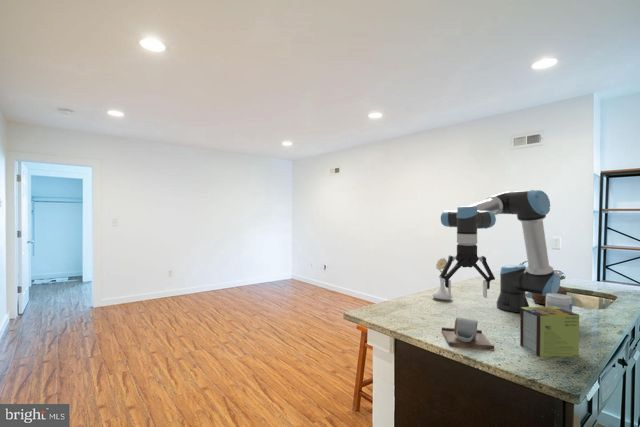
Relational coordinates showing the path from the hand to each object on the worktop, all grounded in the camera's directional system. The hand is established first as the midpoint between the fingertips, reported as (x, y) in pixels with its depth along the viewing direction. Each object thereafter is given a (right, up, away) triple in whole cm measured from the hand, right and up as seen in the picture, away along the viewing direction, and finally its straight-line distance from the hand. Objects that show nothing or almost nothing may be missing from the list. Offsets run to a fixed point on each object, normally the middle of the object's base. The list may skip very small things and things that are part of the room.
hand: (466, 296), depth 128 cm
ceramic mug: (-4, -17, 0) cm, 17 cm away
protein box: (+26, -19, -9) cm, 34 cm away
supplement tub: (+48, -18, +15) cm, 54 cm away
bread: (+79, -18, +62) cm, 102 cm away
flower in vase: (+14, -18, +61) cm, 65 cm away
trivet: (0, -18, 0) cm, 18 cm away
